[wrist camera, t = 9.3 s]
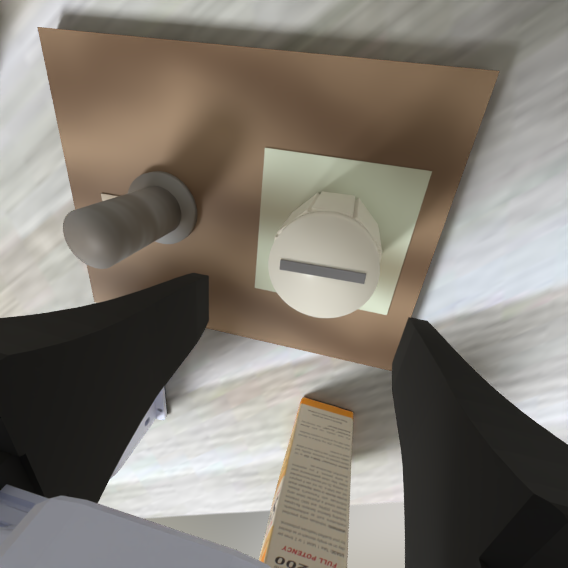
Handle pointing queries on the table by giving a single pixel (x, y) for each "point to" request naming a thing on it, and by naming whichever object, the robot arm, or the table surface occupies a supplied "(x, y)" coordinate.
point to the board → (256, 171)
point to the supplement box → (312, 492)
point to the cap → (327, 256)
